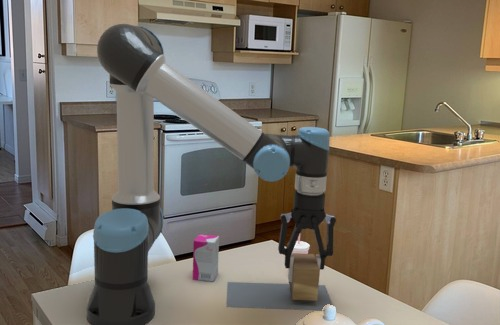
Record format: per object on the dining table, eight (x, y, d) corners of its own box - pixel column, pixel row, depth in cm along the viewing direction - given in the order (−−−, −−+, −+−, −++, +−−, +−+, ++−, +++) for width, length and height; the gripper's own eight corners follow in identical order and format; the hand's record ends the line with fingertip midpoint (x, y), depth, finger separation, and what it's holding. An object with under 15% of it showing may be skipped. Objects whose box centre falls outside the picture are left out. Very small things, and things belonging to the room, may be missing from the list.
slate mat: (226, 309, 124) (226, 307, 124) (227, 283, 138) (227, 281, 138) (334, 312, 125) (334, 310, 125) (324, 287, 139) (325, 285, 138)
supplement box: (218, 275, 143) (219, 235, 140) (213, 284, 137) (214, 242, 135) (198, 272, 144) (199, 233, 141) (191, 281, 138) (193, 240, 136)
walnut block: (288, 282, 136) (290, 253, 134) (311, 282, 136) (313, 254, 134) (292, 299, 126) (294, 268, 124) (317, 300, 126) (319, 269, 125)
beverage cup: (290, 268, 149) (293, 222, 147) (310, 273, 147) (314, 226, 144) (282, 276, 144) (285, 228, 141) (303, 281, 141) (306, 232, 139)
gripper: (271, 193, 122) (266, 285, 127) (352, 197, 123) (343, 288, 127) (269, 185, 129) (264, 272, 134) (345, 189, 130) (337, 275, 135)
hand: (303, 280), depth 131 cm, fingers closed on walnut block, 6 cm apart
